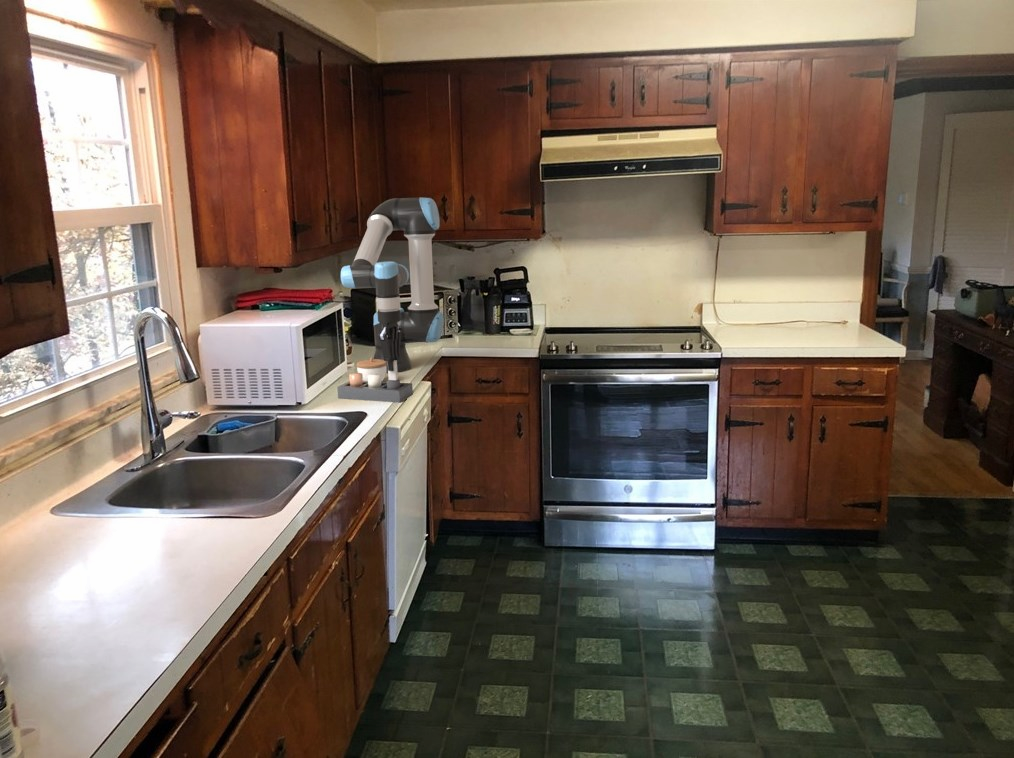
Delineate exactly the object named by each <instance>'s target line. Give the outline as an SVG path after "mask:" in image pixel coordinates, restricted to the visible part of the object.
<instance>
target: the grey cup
mask: <svg viewBox="0 0 1014 758" xmlns="http://www.w3.org/2000/svg"><path fill="white" fill-rule="evenodd" d="M386 382H387V388H390V389H399V388H400V383H401V380H400V379H398V380H389V379H387V380H386Z"/></svg>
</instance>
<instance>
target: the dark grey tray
mask: <svg viewBox="0 0 1014 758" xmlns="http://www.w3.org/2000/svg"><path fill="white" fill-rule="evenodd" d="M381 385H382V386H381V387H379V388H374V387H368V381H363V385H362V386H360V387H358V386H350V380H349V381H347V382H344V383H343V384H340V385H338V386H336V387H337V398H338V399H342V400H359V401H369V402H370V401H374V402H375V401H376V402H384V403H385V402H388V403H401V402H403V401H405V400H407V399H408V398H410V397H412V396H413V394H414V392H413V391H414V390H413V383H408V382H400V388H399V389H390V388H387V381H382V382H381Z"/></svg>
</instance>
